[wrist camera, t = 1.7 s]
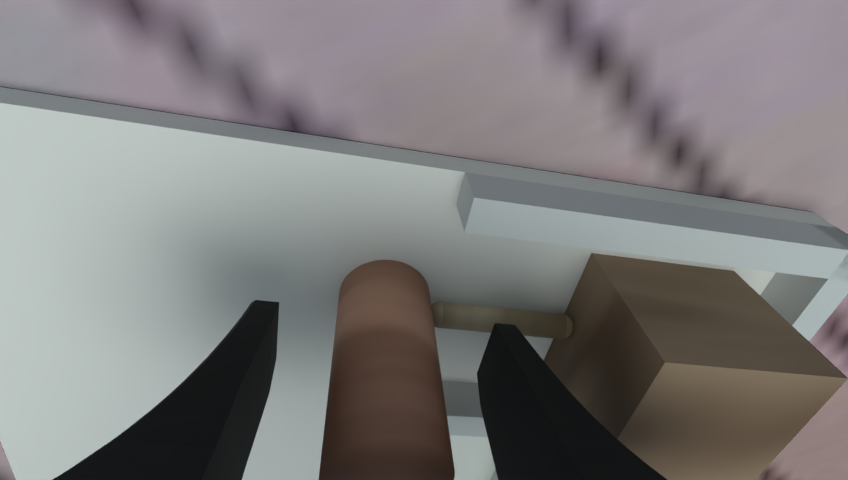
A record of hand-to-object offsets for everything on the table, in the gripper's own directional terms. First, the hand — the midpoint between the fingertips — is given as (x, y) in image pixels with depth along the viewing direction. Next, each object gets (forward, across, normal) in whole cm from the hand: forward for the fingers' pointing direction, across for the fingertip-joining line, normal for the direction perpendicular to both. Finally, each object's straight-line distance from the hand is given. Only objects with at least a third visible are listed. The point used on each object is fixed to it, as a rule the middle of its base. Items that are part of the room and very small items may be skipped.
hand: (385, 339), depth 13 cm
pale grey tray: (+3, 0, +4) cm, 5 cm away
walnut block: (+2, -5, 0) cm, 5 cm away
